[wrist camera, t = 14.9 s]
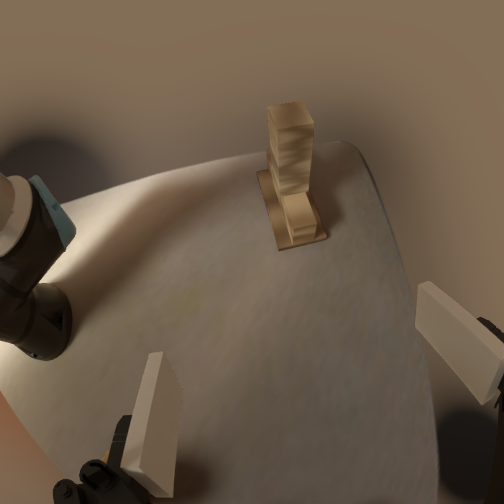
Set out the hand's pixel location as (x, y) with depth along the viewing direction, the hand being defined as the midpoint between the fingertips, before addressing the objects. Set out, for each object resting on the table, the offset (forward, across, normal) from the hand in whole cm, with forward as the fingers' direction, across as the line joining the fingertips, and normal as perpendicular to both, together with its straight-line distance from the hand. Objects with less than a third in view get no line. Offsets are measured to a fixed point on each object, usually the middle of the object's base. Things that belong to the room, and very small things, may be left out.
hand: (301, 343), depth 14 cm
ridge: (+39, +7, -3) cm, 40 cm away
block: (+34, +7, +2) cm, 35 cm away
